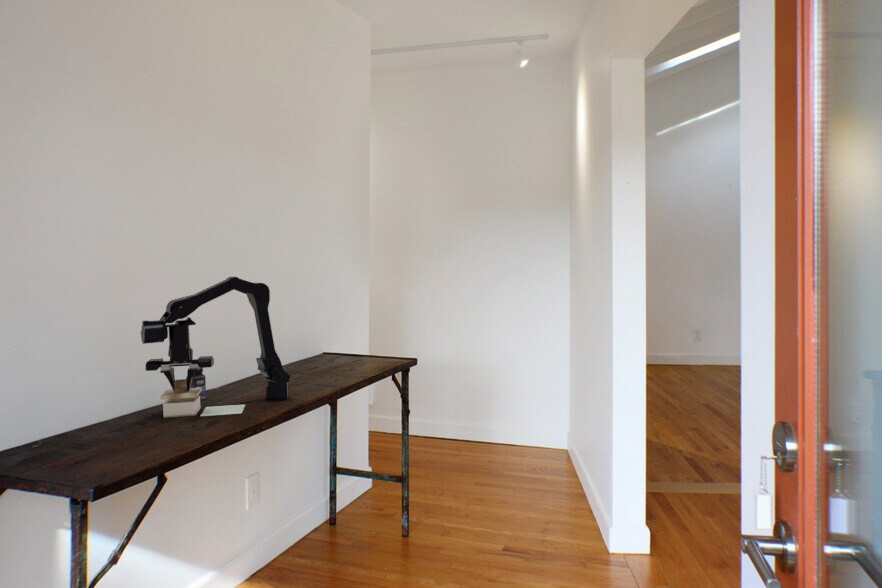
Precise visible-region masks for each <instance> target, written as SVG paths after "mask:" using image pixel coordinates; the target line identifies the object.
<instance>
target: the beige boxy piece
mask: <svg viewBox="0 0 882 588" xmlns="http://www.w3.org/2000/svg"><path fill="white" fill-rule="evenodd" d="M162 410H163V411H162V412H163V418H179V417H190V416H191V417H194V416H197V414H198V413H199V411H200V410H201V401H200V396H197V397H194V398H179V399H166V400H165V401H164V402H163V404H162Z"/></svg>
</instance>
